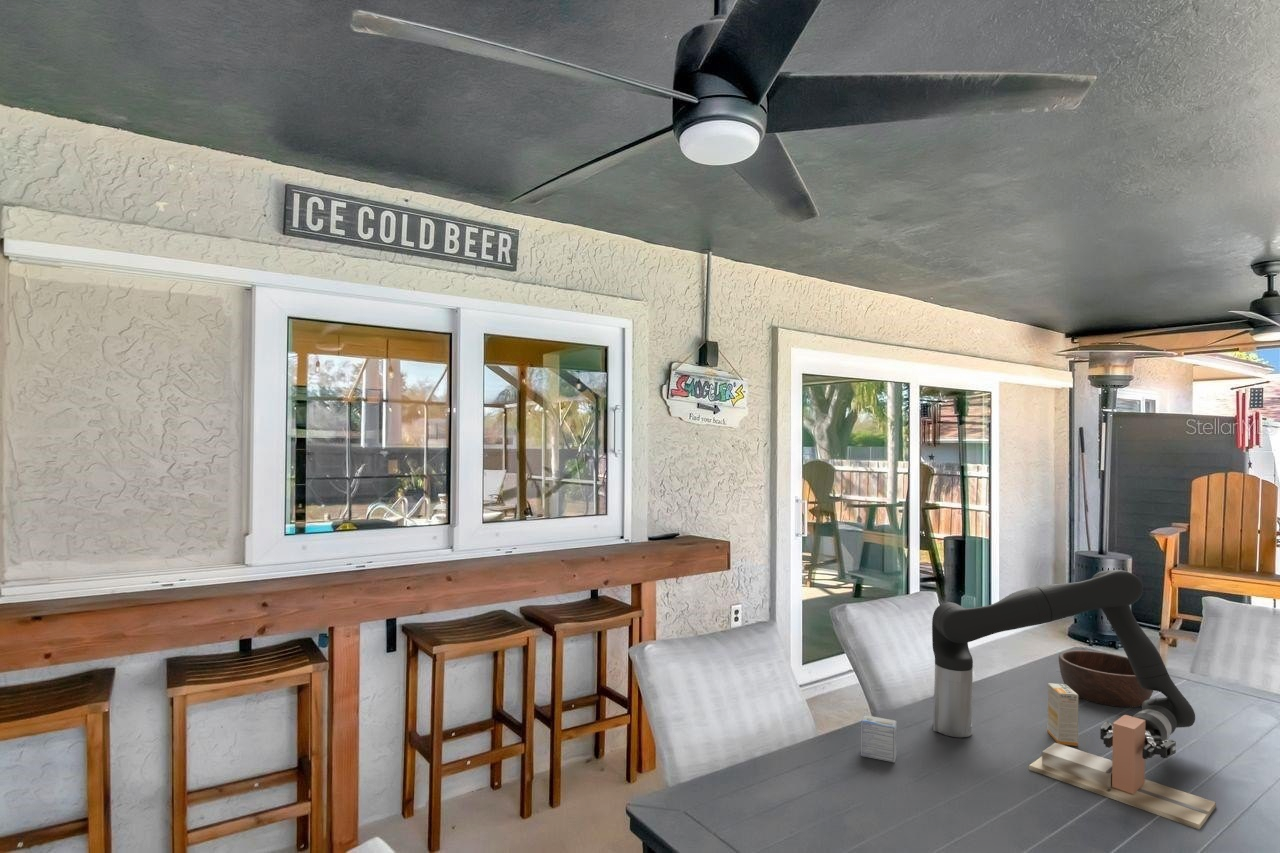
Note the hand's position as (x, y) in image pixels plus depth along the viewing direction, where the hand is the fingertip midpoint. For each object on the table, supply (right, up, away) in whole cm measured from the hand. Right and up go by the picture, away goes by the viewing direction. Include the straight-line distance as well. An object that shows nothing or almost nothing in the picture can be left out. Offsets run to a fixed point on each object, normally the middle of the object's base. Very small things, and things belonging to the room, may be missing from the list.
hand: (1125, 748), depth 155 cm
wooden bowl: (+36, -12, +61) cm, 71 cm away
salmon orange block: (+2, -9, +1) cm, 9 cm away
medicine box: (-49, -9, +16) cm, 52 cm away
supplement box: (+3, -11, +28) cm, 30 cm away
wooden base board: (0, -10, +3) cm, 10 cm away
